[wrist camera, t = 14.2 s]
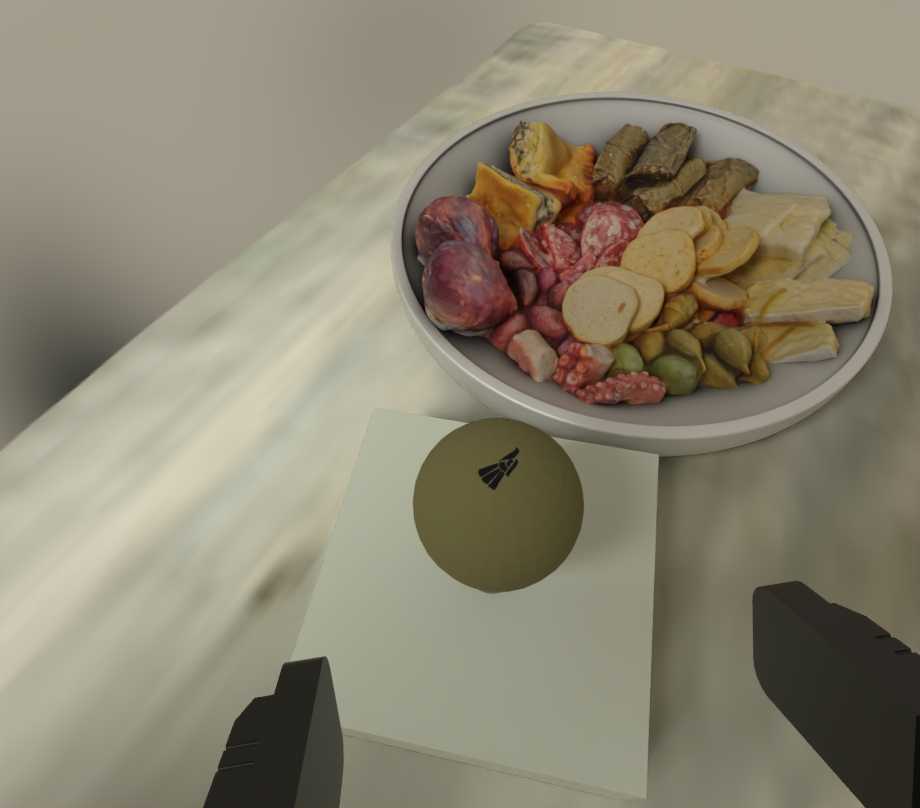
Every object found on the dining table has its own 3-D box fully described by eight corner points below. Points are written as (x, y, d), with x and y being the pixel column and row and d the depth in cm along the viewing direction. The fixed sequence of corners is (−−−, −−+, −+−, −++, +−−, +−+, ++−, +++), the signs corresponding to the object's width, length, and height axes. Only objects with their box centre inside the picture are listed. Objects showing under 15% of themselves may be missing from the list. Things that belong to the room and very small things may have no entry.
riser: (303, 724, 28) (273, 710, 24) (386, 454, 35) (374, 407, 31) (618, 799, 26) (646, 798, 22) (635, 498, 33) (658, 454, 29)
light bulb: (529, 664, 24) (558, 590, 16) (404, 604, 26) (369, 507, 17) (576, 540, 27) (622, 421, 19) (460, 491, 28) (454, 360, 20)
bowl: (656, 110, 53) (682, 12, 47) (955, 352, 39) (1054, 259, 32) (333, 227, 46) (309, 131, 40) (548, 577, 32) (568, 517, 25)
